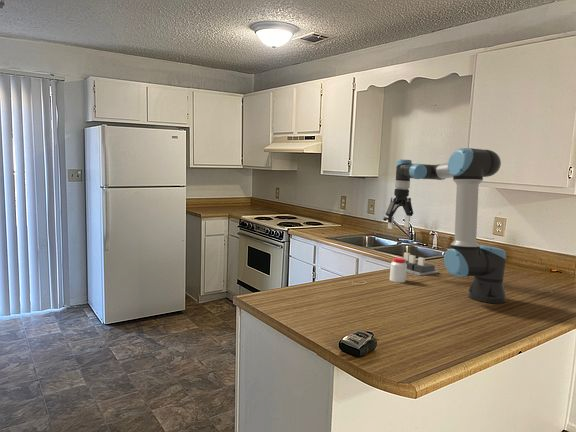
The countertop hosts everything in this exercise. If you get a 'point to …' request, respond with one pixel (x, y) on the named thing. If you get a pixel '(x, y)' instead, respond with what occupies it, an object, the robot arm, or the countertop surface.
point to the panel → (420, 268)
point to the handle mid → (412, 259)
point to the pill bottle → (398, 270)
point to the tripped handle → (406, 256)
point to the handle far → (421, 261)
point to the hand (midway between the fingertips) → (398, 228)
